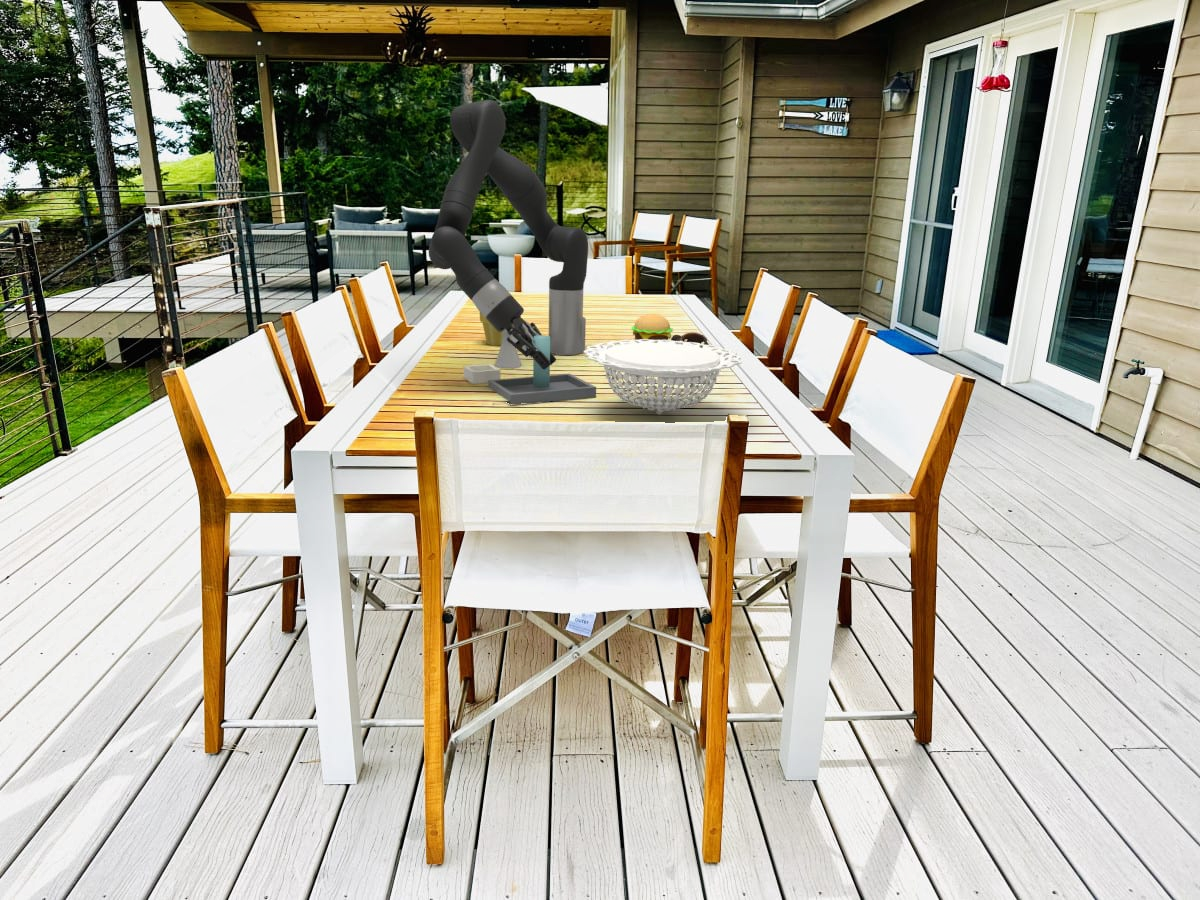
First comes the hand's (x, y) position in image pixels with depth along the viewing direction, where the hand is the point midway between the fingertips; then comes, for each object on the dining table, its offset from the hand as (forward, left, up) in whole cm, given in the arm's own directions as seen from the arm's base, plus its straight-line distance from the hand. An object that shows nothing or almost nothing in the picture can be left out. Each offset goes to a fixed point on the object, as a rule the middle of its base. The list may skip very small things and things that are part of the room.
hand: (550, 364), depth 186 cm
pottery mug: (-51, -23, -7) cm, 56 cm away
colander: (-14, +23, -7) cm, 28 cm away
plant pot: (-9, -58, -7) cm, 59 cm away
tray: (+2, -1, -7) cm, 7 cm away
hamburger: (-51, -44, -7) cm, 68 cm away
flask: (0, -27, -7) cm, 28 cm away
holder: (+11, -15, -7) cm, 20 cm away
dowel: (+2, -1, -5) cm, 5 cm away
